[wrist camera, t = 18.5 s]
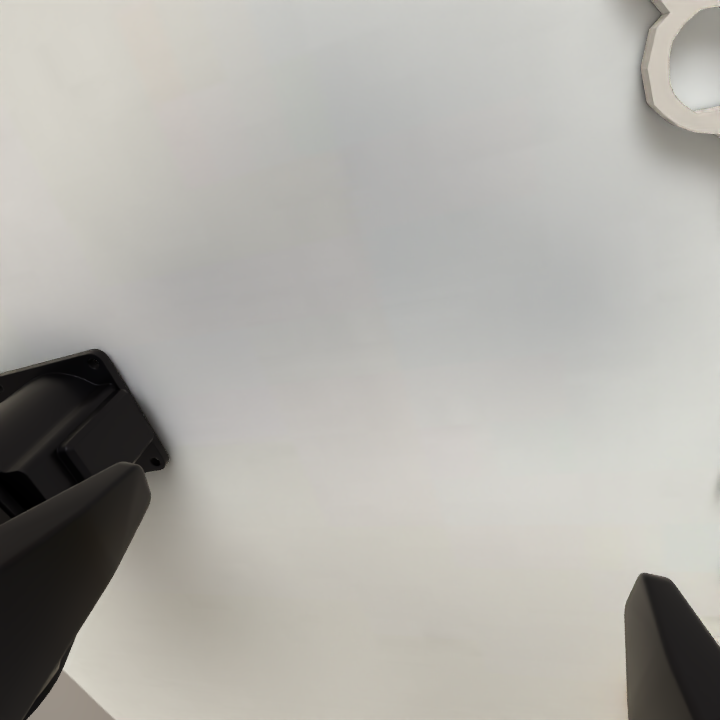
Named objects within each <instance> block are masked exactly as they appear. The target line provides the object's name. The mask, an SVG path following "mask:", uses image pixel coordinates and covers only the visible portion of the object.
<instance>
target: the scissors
mask: <svg viewBox="0 0 720 720" xmlns="http://www.w3.org/2000/svg"><path fill="white" fill-rule="evenodd" d="M651 1H652V2H653V3H654V5H655V6H656V7H657V8H658V10H659V11H660V12H661V14H662V15H661V17H660V18H659V19H658V20H657V21H656V22H655V23H654V24H653V26H652V27H651V28H650V29H649V33H648V37H647V42H646V46H645V51H644V55H643V60H642V64H641V73H642V78H643V84H644V90H645V95H646V101H647V104H648V105H649V106H650V107H651V108H652V109H653V110H654V111H655V112H656V113H658V114H659V115H660V116H661V117H663V118H664V119H665V120H667V121H668V122H669V123H670V124H673V125H676V126H678V127H681V128H684V129H687V130H690V131H693V132H696V133H709V134H715V135H716V136H717V137H719V138H720V106H718V107H713V108H708V109H702V110H697V111H693V110H691V109H690V108H688V107H687V106H685V105H684V104H683V103H682V102H681V101H680V100H679V99H678V98H677V96H676V95H675V94H674V92H673V89H672V87H671V84H670V70H669V59H670V53H671V46H672V41H673V40H674V38H675V37H676V35H677V34H678V33H679V31H680V30H681V28H682V27H683V25H684V24H685V23H686V22H687V21H689V20H690V19H691V18H692V17H693V16H694V15H695V14H696V13H697V12H698V11H700V10H702V9H707V8H712V7H719V8H720V0H651Z"/></svg>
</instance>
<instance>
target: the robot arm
mask: <svg viewBox="0 0 720 720" xmlns="http://www.w3.org/2000/svg"><path fill="white" fill-rule="evenodd" d="M94 359H95V360H96V361H97V362H98V363H99V364H98V363H96V362H95V361H94ZM156 458H157V459H156ZM168 462H169V456H168V454H167V452H166V451H165V449H164V447H163V446H162V444H161V442H160V441H159V439H158V438H157V436H156V434H155V433H154V431H153V429H152V428H151V426H150V424H149V423H148V421H147V420H146V418H145V416H144V415H143V413H142V411H141V410H140V408H139V407H138V405H137V403H136V402H135V400H134V398H133V397H132V395H131V394H130V392H129V390H128V389H127V387H126V385H125V384H124V382H123V380H122V379H121V377H120V376H119V374H118V372H117V371H116V369H115V367H114V366H113V364H112V363H111V361H110V359H109V358H108V356H107V355H106V354H105V353H104V352H102V351H101V350H98V349H92V350H88V351H85V352H81V353H77V354H73V355H69V356H66V357H62V358H58V359H54V360H50V361H46V362H43V363H39V364H35V365H31V366H27V367H24V368H20V369H16V370H12V371H8V372H5V373H1V374H0V720H26V719H27V718H28V717H29V716H30V715H31V714H32V713H33V712H34V711H35V710H36V709H37V708H38V706H39V705H40V704H41V702H42V701H43V700H44V699H45V697H46V696H47V694H48V693H49V692H50V690H51V689H52V687H53V685H54V684H55V683H56V681H57V679H58V677H59V675H60V673H61V671H62V669H63V667H64V665H65V662H66V660H67V657H68V655H69V652H70V650H71V647H72V645H73V642H74V640H75V637H76V635H77V633H78V631H79V630H80V628H81V627H82V625H83V624H84V622H85V620H86V619H87V617H88V616H89V614H90V612H91V611H92V609H93V608H94V606H95V605H96V603H97V601H98V600H99V598H100V597H101V595H102V593H103V592H104V590H105V589H106V587H107V585H108V584H109V582H110V580H111V579H112V577H113V575H114V573H115V572H116V570H117V568H118V566H119V564H120V562H121V560H122V558H123V556H124V554H125V552H126V550H127V548H128V546H129V544H130V542H131V540H132V538H133V536H134V534H135V532H136V530H137V528H138V526H139V525H140V523H141V521H142V519H143V517H144V515H145V513H146V511H147V509H148V506H149V504H150V500H151V492H150V489H149V486H148V483H147V480H146V477H145V474H144V473H145V472H151V471H157V470H161V469H163V468H164V467H165V466H166V464H167V463H168ZM624 619H625V647H626V675H627V702H628V718H629V720H720V647H719V645H718V644H717V643H716V641H715V640H714V638H713V637H712V636H711V634H710V633H709V631H708V630H707V629H706V627H705V626H704V625H703V623H702V622H701V620H700V619H699V618H698V616H697V615H696V613H695V612H694V611H693V609H692V608H691V606H690V605H689V604H688V602H687V601H686V599H685V598H684V597H683V595H682V594H681V592H680V591H679V590H678V588H677V587H676V585H675V584H674V583H673V582H672V581H671V580H670V579H668V578H666V577H662V576H658V575H653V574H648V573H642V574H640V575H639V576H638V578H637V580H636V582H635V584H634V587H633V589H632V591H631V593H630V595H629V597H628V600H627V602H626V606H625V614H624Z"/></svg>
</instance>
